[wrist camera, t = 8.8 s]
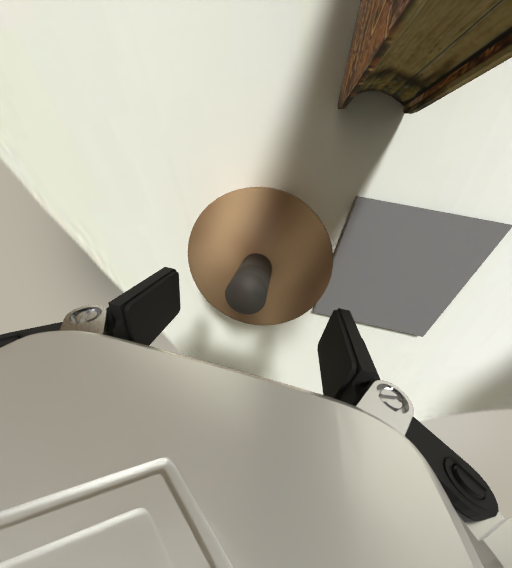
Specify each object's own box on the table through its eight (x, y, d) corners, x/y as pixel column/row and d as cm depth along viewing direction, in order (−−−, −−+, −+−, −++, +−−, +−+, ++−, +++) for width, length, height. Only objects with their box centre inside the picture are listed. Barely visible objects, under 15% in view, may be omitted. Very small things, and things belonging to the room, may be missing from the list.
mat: (506, 224, 18) (513, 225, 17) (420, 333, 24) (422, 336, 24) (356, 196, 18) (358, 196, 18) (312, 309, 25) (313, 312, 25)
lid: (354, 203, 14) (394, 214, 9) (306, 329, 21) (312, 380, 15) (193, 173, 15) (140, 168, 10) (194, 303, 22) (161, 344, 16)
